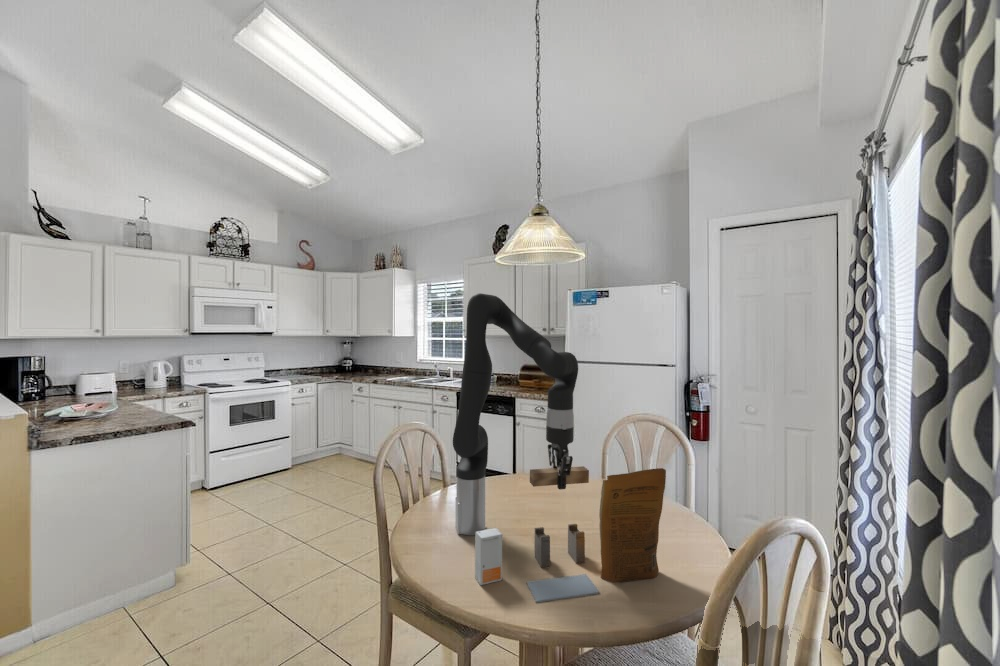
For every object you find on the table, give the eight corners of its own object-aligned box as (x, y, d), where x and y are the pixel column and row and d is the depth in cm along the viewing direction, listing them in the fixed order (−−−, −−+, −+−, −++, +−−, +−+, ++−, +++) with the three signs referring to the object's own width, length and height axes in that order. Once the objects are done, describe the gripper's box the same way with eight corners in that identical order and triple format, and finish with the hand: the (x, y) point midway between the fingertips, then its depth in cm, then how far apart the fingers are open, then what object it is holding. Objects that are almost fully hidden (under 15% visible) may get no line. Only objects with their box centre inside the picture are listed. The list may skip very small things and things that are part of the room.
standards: (541, 568, 118) (541, 537, 118) (534, 556, 124) (534, 527, 124) (584, 562, 121) (584, 532, 121) (576, 551, 127) (576, 523, 126)
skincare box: (480, 586, 110) (480, 538, 109) (474, 577, 113) (474, 531, 113) (502, 580, 112) (502, 533, 112) (496, 572, 116) (496, 527, 116)
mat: (536, 602, 103) (536, 600, 103) (526, 583, 111) (526, 581, 111) (599, 593, 107) (599, 591, 107) (586, 575, 114) (586, 574, 114)
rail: (533, 486, 119) (533, 473, 119) (529, 482, 122) (529, 469, 122) (588, 482, 122) (588, 470, 122) (583, 478, 125) (583, 466, 125)
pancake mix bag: (673, 580, 112) (673, 470, 112) (602, 588, 109) (603, 475, 108) (658, 566, 119) (659, 463, 119) (592, 574, 115) (592, 467, 115)
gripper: (539, 419, 128) (538, 478, 128) (555, 430, 114) (554, 496, 114) (563, 418, 130) (562, 477, 130) (582, 429, 116) (581, 494, 116)
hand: (559, 485), depth 122 cm, fingers closed on rail, 3 cm apart
